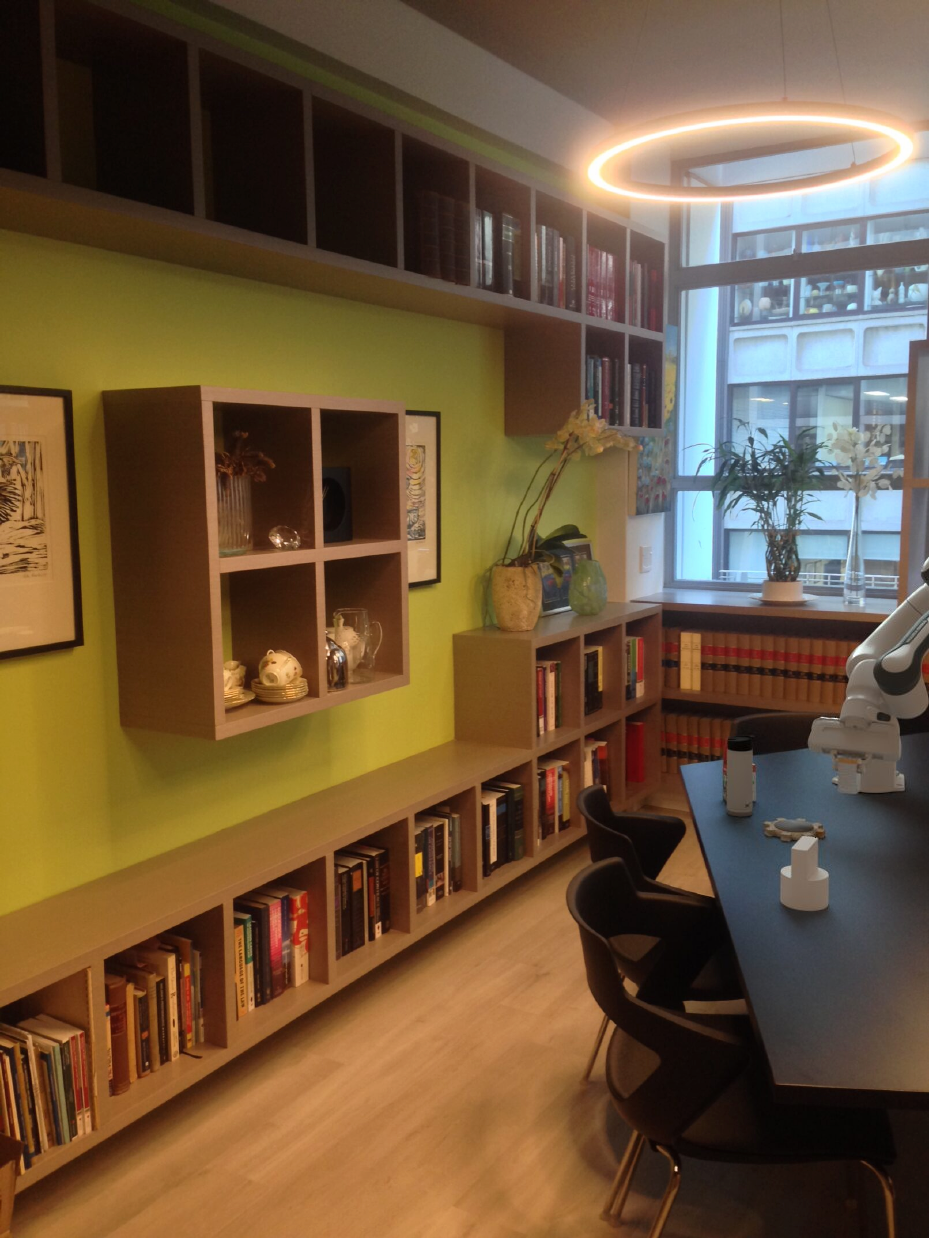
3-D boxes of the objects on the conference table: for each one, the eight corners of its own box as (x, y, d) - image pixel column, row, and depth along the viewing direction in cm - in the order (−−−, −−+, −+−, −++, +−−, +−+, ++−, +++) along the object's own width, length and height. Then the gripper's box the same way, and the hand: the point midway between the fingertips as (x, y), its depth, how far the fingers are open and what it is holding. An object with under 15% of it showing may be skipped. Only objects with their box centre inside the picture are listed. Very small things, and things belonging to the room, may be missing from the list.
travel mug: (754, 817, 263) (755, 738, 261) (727, 816, 265) (727, 738, 262) (753, 810, 269) (753, 733, 267) (726, 809, 271) (726, 732, 269)
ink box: (756, 801, 277) (756, 746, 275) (727, 803, 276) (727, 748, 274) (750, 797, 281) (751, 743, 279) (722, 799, 280) (722, 745, 278)
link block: (842, 787, 245) (842, 753, 244) (860, 789, 242) (861, 755, 241) (837, 791, 241) (838, 757, 240) (856, 794, 239) (856, 759, 238)
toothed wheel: (773, 820, 260) (773, 813, 260) (831, 828, 253) (831, 821, 253) (755, 836, 249) (755, 828, 249) (815, 845, 241) (816, 837, 241)
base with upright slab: (822, 914, 202) (822, 853, 201) (774, 905, 207) (775, 846, 206) (833, 898, 210) (834, 839, 208) (787, 890, 215) (787, 833, 213)
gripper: (811, 709, 251) (799, 758, 244) (903, 717, 240) (893, 769, 233) (816, 724, 255) (804, 772, 248) (906, 732, 244) (897, 784, 237)
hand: (848, 771), depth 240 cm, fingers closed on link block, 4 cm apart
